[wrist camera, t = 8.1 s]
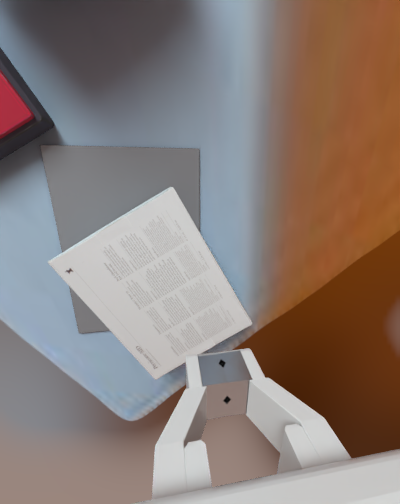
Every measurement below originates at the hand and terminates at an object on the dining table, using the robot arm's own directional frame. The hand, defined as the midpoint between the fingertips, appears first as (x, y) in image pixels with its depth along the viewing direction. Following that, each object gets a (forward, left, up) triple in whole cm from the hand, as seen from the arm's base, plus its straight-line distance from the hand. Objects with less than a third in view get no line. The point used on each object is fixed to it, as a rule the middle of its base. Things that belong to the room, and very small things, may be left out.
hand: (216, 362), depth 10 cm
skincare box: (-4, +1, -18) cm, 19 cm away
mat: (+7, 0, -21) cm, 22 cm away
